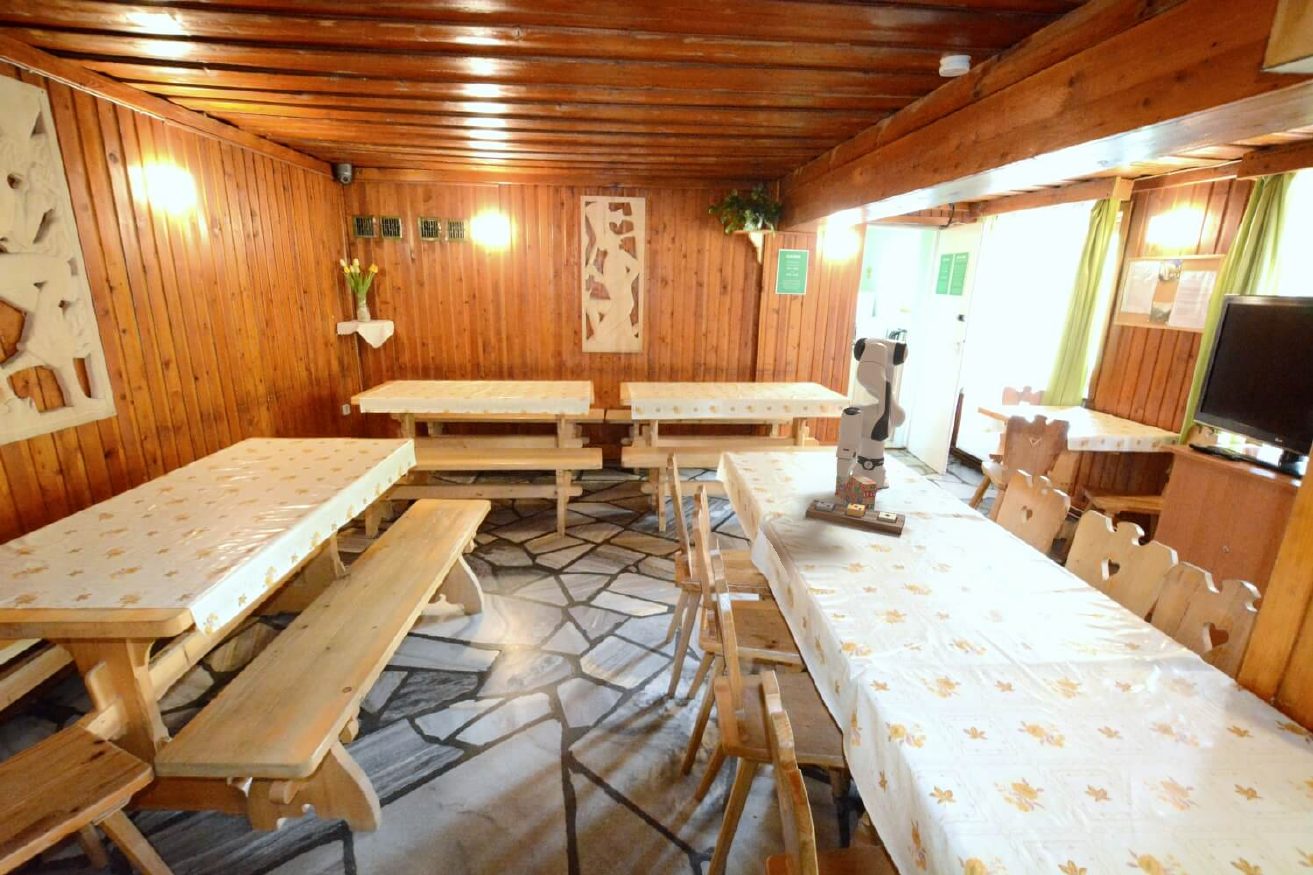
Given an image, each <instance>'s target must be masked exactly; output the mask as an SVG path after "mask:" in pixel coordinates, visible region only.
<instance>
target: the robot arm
mask: <svg viewBox="0 0 1313 875" xmlns="http://www.w3.org/2000/svg"><path fill="white" fill-rule="evenodd" d="M852 351H853V358H854V360H856V361H857V362H858V365H857V368H856V379H857V380H856V381H857V382H858V383H859V384H860V386H862V387H863V388H864V389H865V391H866V393H867V394H868V395H870V396H871V397H873V398H874V399H876V400H878V402H877V403H871V402H869V403H868V402H857V403H852V404H850V405H849V406H848V407H846V408H844V409H843V410H842V412H841V416H840V420H839V428H838V432H839V433H838V434H839V436H838V439H837V446H836V452H835V458H836V477H840V478H843V483H845V484H847V483H848V481H849V476H850V475H855V474H861V475H863V476H865V477H867V478H869V479H871V480H873V481H874V482H876V483H877V489H885V488H890V484H889V480H888V477H887V476H886V474H887V473H886V472H887V470H886V468H885V467H884V464H885V456H884V454H885V446H886V442H885V440H887V439H889V438H890V435H891V432H892V428H893V429H894V428H899V427H900V428H901V426H902V425H904V423H905V421H906V412H905V410H904V408H903V407H902V406H901V405H900V404H899V403H898V402H897V401H896V399H895V397H894V395H893V394H894V393H893V385H894V384H893V383H894V374H895V367H896V366H900V365H902V364H904V363H905V361H906V359H907V358H908V355H909V348H908V345H907V343H906V342H905V341H902V340H899V339H897V340H896V339H891V338H875V337H874V338H873V337H872V338H871V337H870V338H868V337H861V338H859V339H857V340H856V342H855V344H854V346H853V350H852ZM877 489H876V490H877Z"/></svg>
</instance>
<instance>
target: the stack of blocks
mask: <svg viewBox="0 0 1313 875" xmlns="http://www.w3.org/2000/svg"><path fill="white" fill-rule="evenodd" d="M834 492H835V493H834V494H835V496H837V497H839V498H840V499H842V500H844V501H845V502H847V503H848V504H849V503H852V504H857V505H863V506H865V508H866V509H872V510H875V502H876V497H877V483H876V482H874V481H873V480H871V479H869V478H867V477H865V476H863V475H861V474H855V475H852V474H850V476H849V481H848V483H847V484H845V483H843V478H840V477H837V476H836V479H835V491H834Z"/></svg>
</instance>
